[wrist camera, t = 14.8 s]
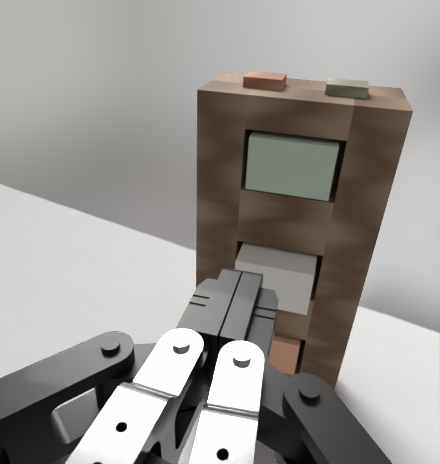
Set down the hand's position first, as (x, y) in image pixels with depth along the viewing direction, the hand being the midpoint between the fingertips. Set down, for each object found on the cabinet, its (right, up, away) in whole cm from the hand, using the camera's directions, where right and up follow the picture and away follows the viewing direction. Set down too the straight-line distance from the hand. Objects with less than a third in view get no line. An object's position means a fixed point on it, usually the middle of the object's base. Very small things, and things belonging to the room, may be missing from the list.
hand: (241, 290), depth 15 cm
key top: (+4, +5, +11) cm, 13 cm away
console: (+3, -12, +24) cm, 27 cm away
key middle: (+3, -2, +14) cm, 15 cm away
